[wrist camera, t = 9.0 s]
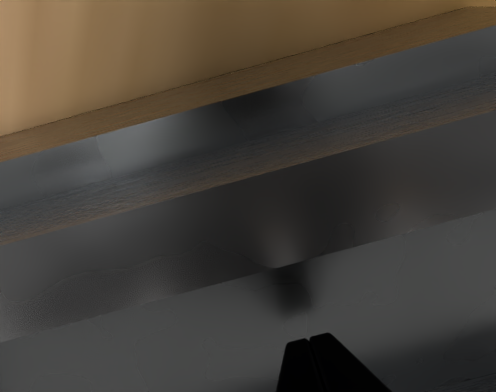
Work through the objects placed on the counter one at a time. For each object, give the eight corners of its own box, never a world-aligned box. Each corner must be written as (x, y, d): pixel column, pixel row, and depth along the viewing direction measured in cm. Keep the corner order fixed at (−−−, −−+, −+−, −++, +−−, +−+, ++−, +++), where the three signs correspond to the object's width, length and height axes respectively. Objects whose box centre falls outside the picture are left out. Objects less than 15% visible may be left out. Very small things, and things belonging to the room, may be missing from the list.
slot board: (468, 6, 9) (657, 6, 5) (476, 350, 13) (582, 485, 9) (-80, 158, 9) (-273, 263, 5) (103, 449, 13) (66, 617, 10)
